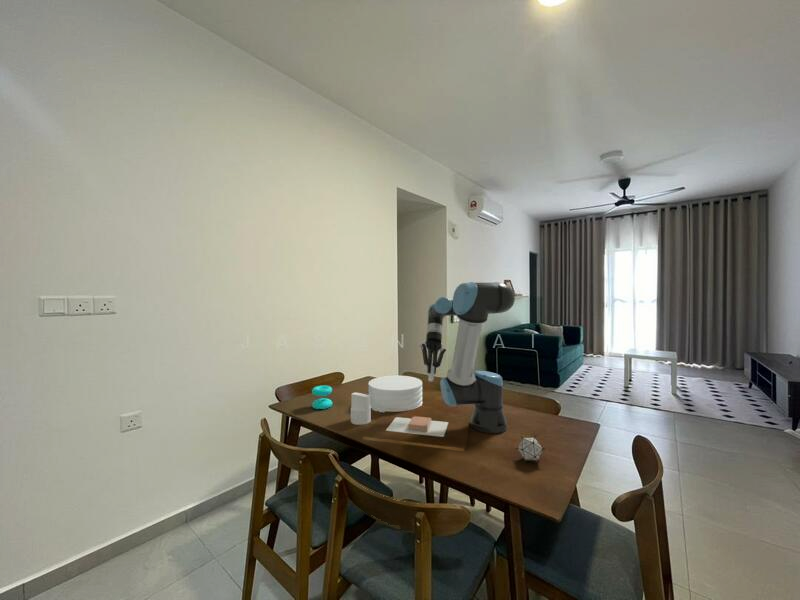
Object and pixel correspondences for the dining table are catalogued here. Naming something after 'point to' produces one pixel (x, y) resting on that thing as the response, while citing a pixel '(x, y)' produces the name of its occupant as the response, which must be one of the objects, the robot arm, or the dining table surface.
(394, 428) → the cutting board
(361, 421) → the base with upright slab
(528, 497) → the dining table surface
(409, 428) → the teal rectangular slab
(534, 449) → the game die
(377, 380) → the plate stack
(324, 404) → the donuts
